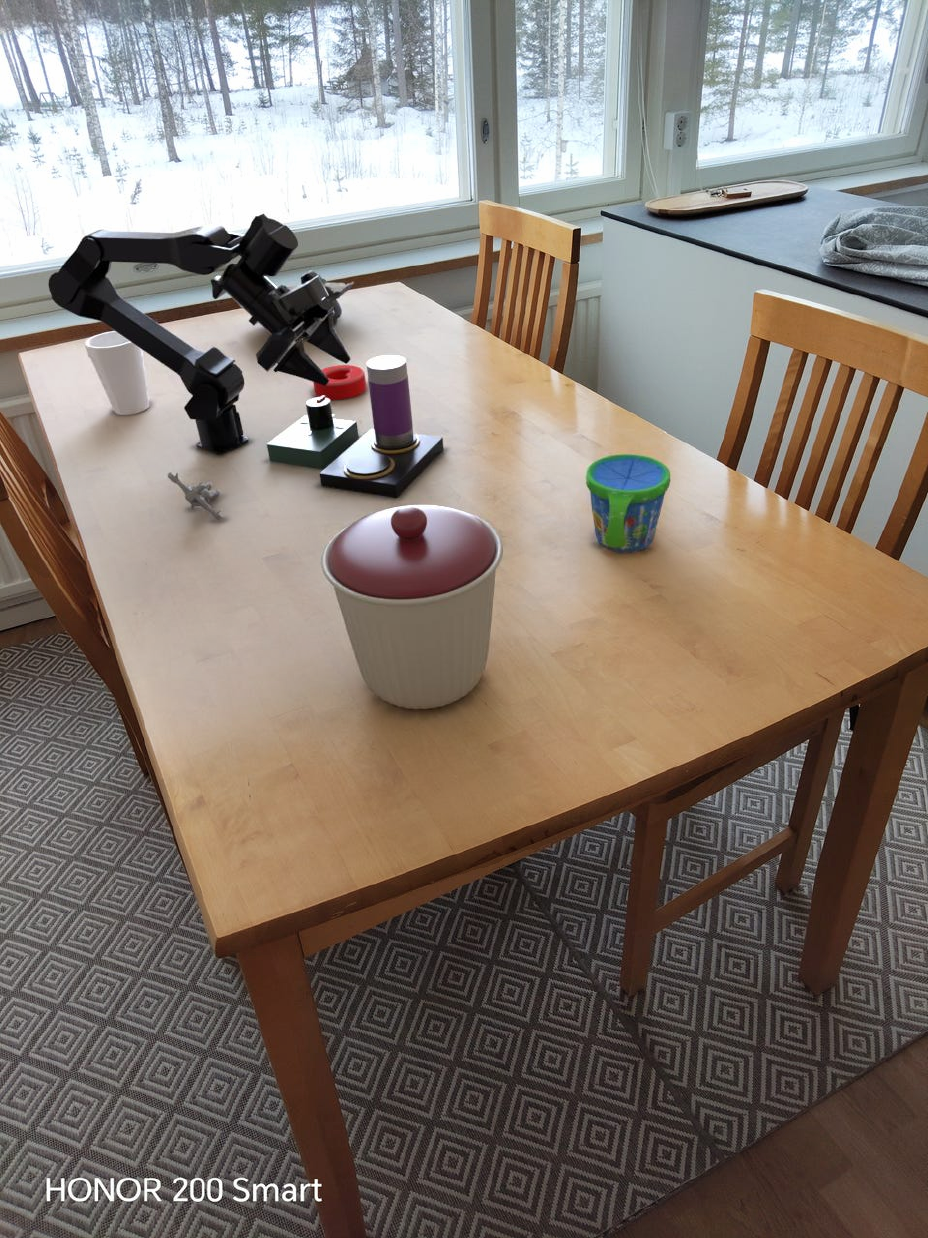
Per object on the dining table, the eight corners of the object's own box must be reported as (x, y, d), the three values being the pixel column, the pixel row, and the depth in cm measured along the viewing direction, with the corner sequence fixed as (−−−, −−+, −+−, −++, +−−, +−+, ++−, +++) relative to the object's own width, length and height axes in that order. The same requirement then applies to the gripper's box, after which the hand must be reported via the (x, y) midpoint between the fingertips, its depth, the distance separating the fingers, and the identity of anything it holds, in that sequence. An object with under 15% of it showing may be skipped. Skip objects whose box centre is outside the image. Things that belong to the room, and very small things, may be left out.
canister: (501, 624, 107) (495, 461, 95) (513, 728, 92) (508, 551, 80) (349, 634, 107) (323, 473, 95) (337, 739, 93) (304, 565, 80)
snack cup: (647, 578, 113) (653, 506, 107) (567, 563, 117) (568, 493, 111) (677, 519, 125) (684, 451, 119) (603, 507, 128) (606, 440, 122)
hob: (321, 486, 139) (318, 469, 137) (372, 440, 151) (370, 424, 149) (397, 498, 134) (395, 480, 132) (443, 449, 147) (442, 433, 145)
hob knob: (326, 430, 148) (322, 405, 145) (304, 428, 149) (300, 403, 147) (338, 421, 151) (334, 396, 148) (317, 418, 152) (313, 394, 150)
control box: (269, 461, 147) (266, 443, 145) (311, 428, 157) (308, 411, 155) (323, 468, 144) (320, 450, 142) (362, 435, 153) (359, 417, 151)
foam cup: (165, 397, 172) (147, 329, 165) (146, 417, 165) (127, 347, 157) (117, 398, 173) (97, 330, 166) (97, 418, 166) (75, 348, 158)
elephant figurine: (249, 498, 137) (227, 507, 128) (226, 527, 139) (203, 538, 130) (197, 454, 136) (172, 459, 128) (175, 483, 138) (148, 491, 129)
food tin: (387, 450, 141) (378, 372, 134) (368, 437, 145) (358, 361, 138) (421, 439, 144) (413, 362, 136) (401, 427, 148) (393, 351, 140)
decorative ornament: (309, 386, 173) (307, 370, 171) (358, 376, 175) (356, 360, 173) (322, 403, 165) (319, 387, 164) (372, 393, 168) (370, 376, 166)
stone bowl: (339, 344, 190) (329, 299, 185) (230, 351, 196) (218, 309, 191) (371, 305, 209) (363, 264, 204) (272, 313, 215) (261, 273, 210)
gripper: (261, 277, 124) (347, 359, 128) (313, 242, 139) (388, 316, 143) (221, 332, 131) (304, 408, 135) (274, 293, 145) (348, 363, 149)
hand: (338, 372), depth 140 cm, fingers open, 9 cm apart
